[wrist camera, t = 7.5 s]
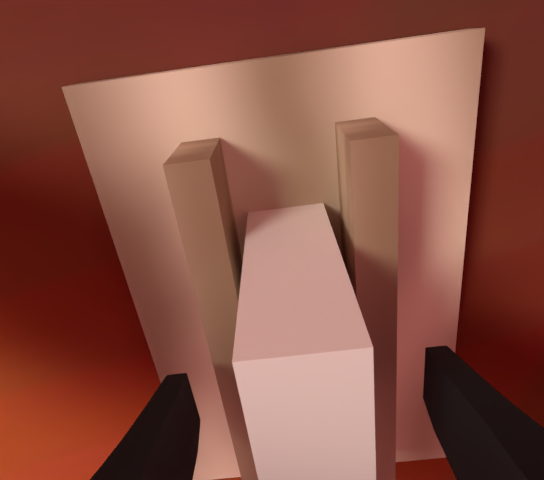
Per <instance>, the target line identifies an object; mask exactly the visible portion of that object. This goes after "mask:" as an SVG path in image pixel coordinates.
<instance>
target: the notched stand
mask: <svg viewBox="0 0 544 480" xmlns="http://www.w3.org/2000/svg"><path fill="white" fill-rule="evenodd" d="M484 35H485V28H473V29H463V30H456V31H449V32H442V33H435V34H428V35H420V36H413V37H406V38H399V39H392V40H385V41H378V42H370V43H363V44H356V45H349V46H342V47H335V48H328V49H320V50H313V51H306V52H299V53H292V54H285V55H278V56H270V57H263V58H256V59H249V60H242V61H235V62H228V63H220V64H213V65H206V66H199V67H192V68H185V69H178V70H170V71H163V72H156V73H149V74H142V75H135V76H128V77H120V78H113V79H106V80H99V81H92V82H85V83H77V84H73V85H68V86H64V87H62V90H63V93H64V96H65V99H66V102H67V105H68V108H69V111H70V114H71V117H72V120H73V123H74V126H75V129H76V132H77V135H78V138H79V141H80V144H81V147H82V150H83V153H84V156H85V159H86V162H87V164H88V167H89V170H90V173H91V176H92V179H93V182H94V185H95V188H96V191H97V194H98V197H99V200H100V203H101V206H102V209H103V212H104V215H105V218H106V221H107V224H108V227H109V230H110V233H111V236H112V239H113V242H114V245H115V248H116V251H117V254H118V257H119V260H120V263H121V266H122V269H123V272H124V275H125V278H126V281H127V284H128V287H129V290H130V293H131V296H132V299H133V302H134V305H135V308H136V311H137V314H138V317H139V320H140V323H141V326H142V329H143V332H144V335H145V338H146V341H147V344H148V347H149V350H150V353H151V356H152V359H153V362H154V365H155V368H156V371H157V374H158V377H159V380H160V383H162V381H163V380H164V378H165V377H166V376H167V375H171V374H180V373H187V375H188V379H189V382H190V385H191V389H192V392H193V396H194V399H195V403H196V406H197V409H198V413H199V416H200V433H199V444H198V454H197V460H196V465H195V470H194V475H193V480H212V479H222V478H233V477H241V479H242V480H258V476H257V472H256V467H255V463H254V458H253V454H252V449H251V445H250V440H249V436H248V431H247V427H246V423H245V418H244V414H243V409H242V405H241V400H240V396H239V391H238V387H237V382H236V378H235V373H234V369H233V364H232V358H233V349H234V339H235V330H236V320H237V311H238V302H239V292H240V283H241V273H242V264H243V255H244V245H245V236H246V226H247V217H248V212H254V211H262V210H271V209H279V208H287V207H295V206H303V205H311V204H319V203H323V204H324V207H325V209H326V212H327V215H328V218H329V221H330V224H331V227H332V230H333V233H334V235H335V238H336V241H337V244H338V247H339V250H340V253H341V256H342V259H343V261H344V264H345V267H346V270H347V273H348V276H349V279H350V282H351V285H352V287H353V290H354V293H355V296H356V299H357V302H358V305H359V308H360V311H361V313H362V316H363V319H364V322H365V325H366V328H367V331H368V334H369V337H370V339H371V342H372V345H373V360H374V405H375V450H376V480H396V462H404V461H414V460H425V459H436V458H446V455H445V453H444V451H443V449H442V447H441V445H440V442H439V440H438V438H437V436H436V434H435V432H434V429H433V426H432V423H431V420H430V417H429V414H428V411H427V408H426V405H425V402H424V399H423V386H424V366H425V348H426V347H435V346H445V345H446V346H448V347H449V348H450V349H451V350H452V351H453V352H455V349H456V338H457V328H458V317H459V306H460V295H461V284H462V273H463V263H464V252H465V241H466V230H467V219H468V208H469V198H470V187H471V176H472V165H473V154H474V143H475V132H476V122H477V111H478V100H479V89H480V78H481V67H482V57H483V46H484Z"/></svg>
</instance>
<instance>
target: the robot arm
mask: <svg viewBox="0 0 544 480" xmlns="http://www.w3.org/2000/svg"><path fill="white" fill-rule="evenodd" d="M423 399H424V402H425V405H426V408H427V411H428V414H429V417H430V420H431V423H432V426H433V429H434V432H435V434H436V436H437V438H438V440H439V442H440V445H441V447H442V449H443V451H444V453H445V455H446V457H447V459H448V462H449V464H450V466H451V468H452V470H453V472H454V474H455V476H456V478H457V480H544V428H543V427H542V426H540V425H539V424H538V423H536V422H535V421H534V420H532V419H531V418H530V417H529V416H527V415H526V414H525V413H523V412H522V411H521V410H520V409H518V408H517V407H516V406H515V405H513V404H512V403H511V402H510V401H509V400H507V399H506V398H505V397H504V396H503V395H502V394H500V393H499V392H498V391H497V390H496V389H494V388H493V387H492V386H491V385H490V384H489V383H488V382H486V381H485V380H484V379H483V378H482V377H481V376H480V375H479V374H477V373H476V372H475V371H474V370H473V369H472V368H471V367H470V366H469V365H468V364H466V363H465V362H464V361H463V360H462V359H461V358H460V357H459V356H458V355H457V354H456V353H455V352H453V351H452V350H451V349H450V348H449V347H448V346H446V345H445V346H435V347H426V348H425V366H424V386H423ZM199 433H200V416H199V413H198V409H197V406H196V403H195V399H194V396H193V392H192V389H191V385H190V382H189V379H188V375H187V373H180V374H171V375H167V376H166V377H165V378H164V380H163V381H162V383H161V384H160V386H159V387H158V389H157V390H156V392H155V393H154V395H153V396H152V398H151V399H150V401H149V402H148V404H147V405H146V407H145V408H144V409H143V411H142V412H141V414H140V415H139V417H138V418H137V419H136V421H135V422H134V424H133V425H132V426H131V428H130V429H129V431H128V432H127V433H126V435H125V436H124V438H123V439H122V440H121V442H120V443H119V444H118V445H117V447H116V448H115V449H114V451H113V452H112V453H111V454H110V456H109V457H108V458H107V459H106V461H105V462H104V463H103V465H102V466H101V467H100V468H99V469H98V471H97V472H96V473H95V474H94V475H93V477H92V478H91V479H90V480H193V475H194V470H195V465H196V460H197V454H198V444H199Z"/></svg>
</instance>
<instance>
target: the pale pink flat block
mask: <svg viewBox="0 0 544 480" xmlns="http://www.w3.org/2000/svg"><path fill="white" fill-rule="evenodd" d="M232 364H233V369H234V373H235V378H236V382H237V387H238V391H239V396H240V400H241V405H242V409H243V414H244V418H245V423H246V427H247V431H248V436H249V440H250V445H251V449H252V454H253V458H254V463H255V467H256V472H257V476H258V480H376V450H375V405H374V360H373V345H372V342H371V339H370V337H369V334H368V331H367V328H366V325H365V322H364V319H363V316H362V313H361V311H360V308H359V305H358V302H357V299H356V296H355V293H354V290H353V287H352V285H351V282H350V279H349V276H348V273H347V270H346V267H345V264H344V261H343V259H342V256H341V253H340V250H339V247H338V244H337V241H336V238H335V235H334V233H333V230H332V227H331V224H330V221H329V218H328V215H327V212H326V209H325V207H324V204H323V203H319V204H311V205H303V206H295V207H287V208H279V209H271V210H262V211H254V212H248V217H247V226H246V236H245V245H244V255H243V264H242V273H241V283H240V292H239V302H238V311H237V320H236V330H235V339H234V349H233V358H232Z"/></svg>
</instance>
